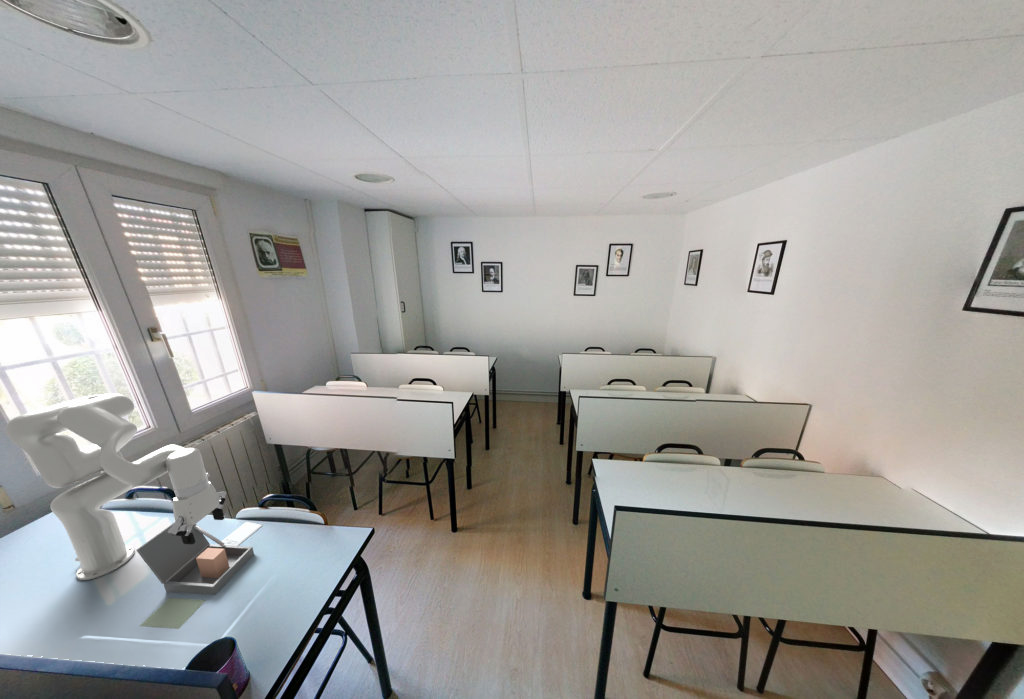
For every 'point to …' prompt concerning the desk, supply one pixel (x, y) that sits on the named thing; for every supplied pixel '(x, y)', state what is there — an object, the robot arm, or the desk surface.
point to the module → (212, 562)
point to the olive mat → (173, 613)
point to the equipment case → (189, 561)
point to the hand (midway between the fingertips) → (205, 530)
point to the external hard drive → (241, 534)
